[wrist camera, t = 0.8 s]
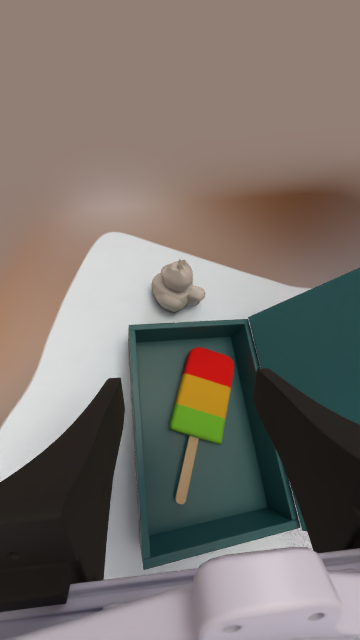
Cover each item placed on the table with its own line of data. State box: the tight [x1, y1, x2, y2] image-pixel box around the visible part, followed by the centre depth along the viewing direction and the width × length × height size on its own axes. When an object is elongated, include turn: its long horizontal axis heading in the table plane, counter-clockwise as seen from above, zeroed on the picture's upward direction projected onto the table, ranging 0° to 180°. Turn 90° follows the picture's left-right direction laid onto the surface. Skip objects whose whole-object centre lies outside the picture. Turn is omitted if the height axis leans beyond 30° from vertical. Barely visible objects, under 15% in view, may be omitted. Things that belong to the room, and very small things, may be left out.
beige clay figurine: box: [152, 259, 205, 312], centre depth 30 cm, size 5×7×8 cm
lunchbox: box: [128, 319, 300, 570], centre depth 25 cm, size 13×19×5 cm
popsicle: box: [169, 347, 234, 504], centre depth 26 cm, size 6×15×2 cm, turn 165°
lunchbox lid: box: [248, 268, 360, 531], centre depth 20 cm, size 14×19×1 cm
